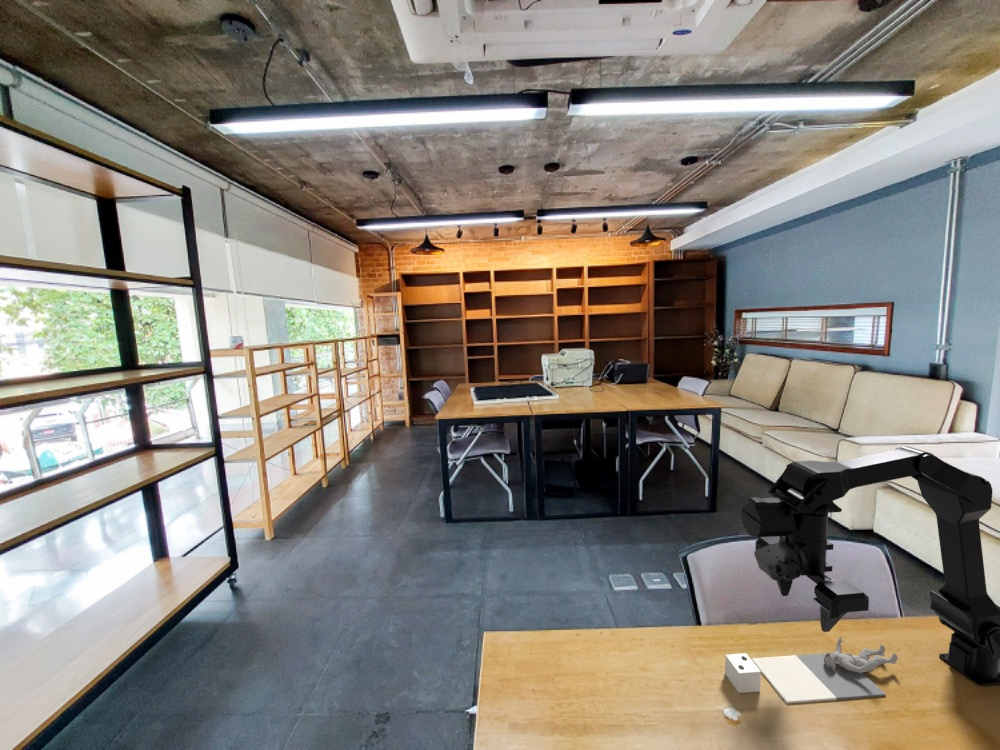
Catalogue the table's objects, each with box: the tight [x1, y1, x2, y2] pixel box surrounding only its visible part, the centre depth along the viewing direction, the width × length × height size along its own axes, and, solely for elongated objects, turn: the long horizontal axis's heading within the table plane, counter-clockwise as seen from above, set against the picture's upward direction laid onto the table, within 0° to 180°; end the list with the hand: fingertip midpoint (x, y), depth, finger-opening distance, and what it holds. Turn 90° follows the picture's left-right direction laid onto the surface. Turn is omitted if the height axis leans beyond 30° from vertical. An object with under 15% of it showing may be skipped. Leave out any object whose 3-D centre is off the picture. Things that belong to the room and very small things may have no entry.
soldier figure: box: [824, 636, 898, 674], centre depth 74 cm, size 8×5×12 cm
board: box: [751, 652, 887, 704], centre depth 73 cm, size 18×9×1 cm, turn 92°
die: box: [724, 652, 762, 694], centre depth 72 cm, size 4×4×4 cm
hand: (803, 612), depth 72 cm, fingers open, 9 cm apart
